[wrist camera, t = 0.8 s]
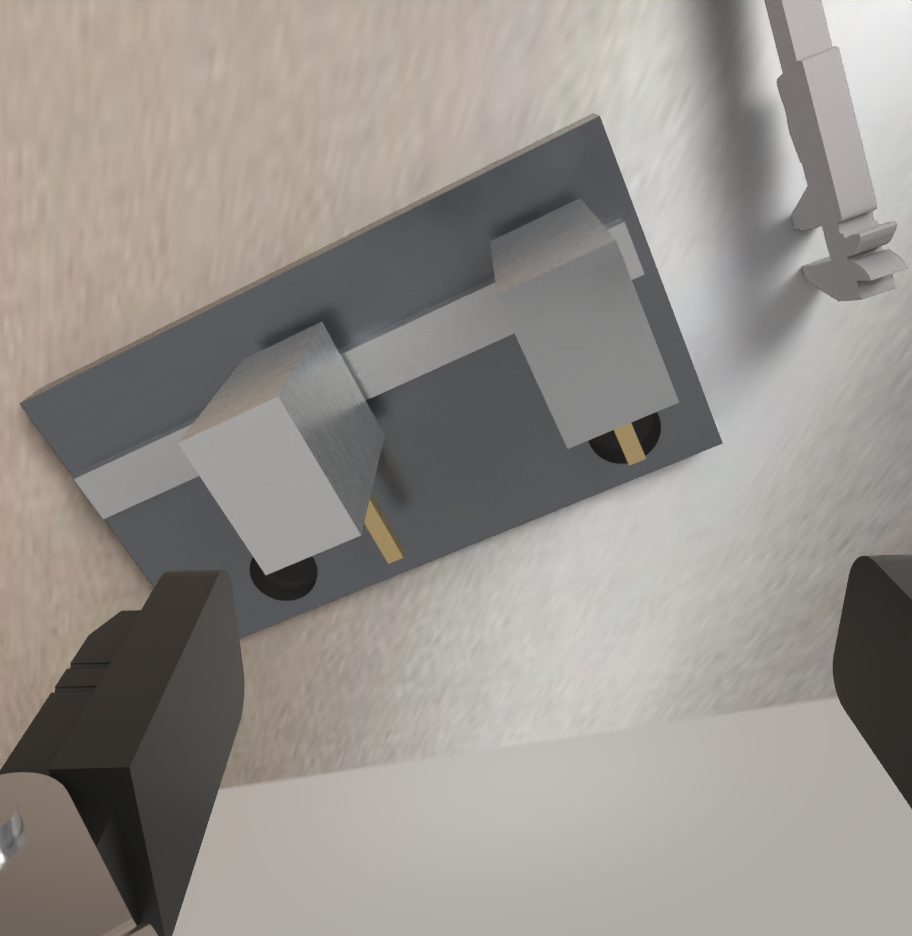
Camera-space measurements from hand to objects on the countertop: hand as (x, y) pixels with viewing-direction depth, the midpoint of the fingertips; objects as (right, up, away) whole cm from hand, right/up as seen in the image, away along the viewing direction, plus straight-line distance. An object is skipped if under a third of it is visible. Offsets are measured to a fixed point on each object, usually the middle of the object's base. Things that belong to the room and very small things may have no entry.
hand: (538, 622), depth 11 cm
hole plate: (-4, +4, +21) cm, 21 cm away
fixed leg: (+3, +6, +17) cm, 18 cm away
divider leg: (-5, +3, +18) cm, 19 cm away
